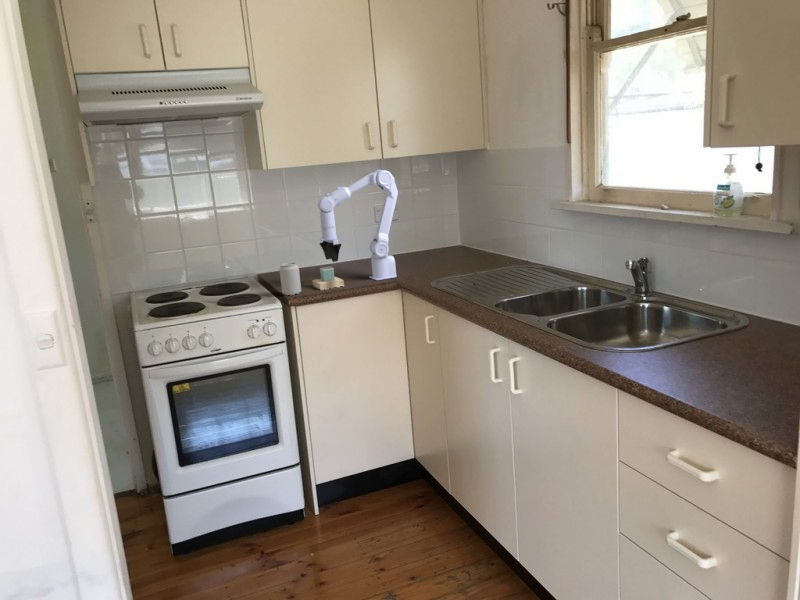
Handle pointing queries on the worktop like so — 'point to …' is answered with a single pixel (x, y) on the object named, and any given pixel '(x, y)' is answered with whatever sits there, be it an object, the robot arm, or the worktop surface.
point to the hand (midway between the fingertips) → (331, 260)
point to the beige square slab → (327, 283)
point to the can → (290, 279)
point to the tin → (327, 273)
